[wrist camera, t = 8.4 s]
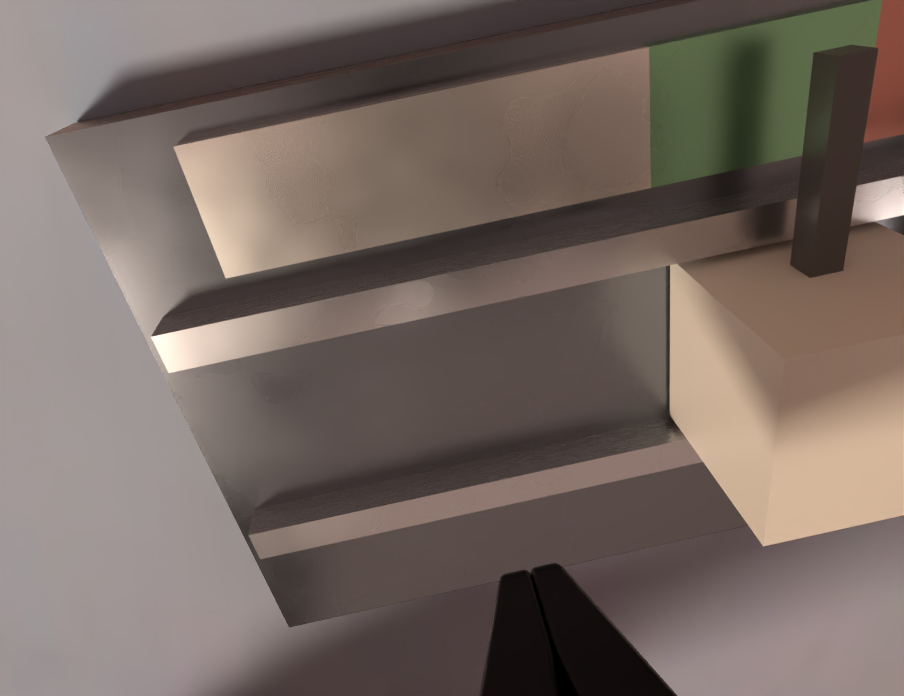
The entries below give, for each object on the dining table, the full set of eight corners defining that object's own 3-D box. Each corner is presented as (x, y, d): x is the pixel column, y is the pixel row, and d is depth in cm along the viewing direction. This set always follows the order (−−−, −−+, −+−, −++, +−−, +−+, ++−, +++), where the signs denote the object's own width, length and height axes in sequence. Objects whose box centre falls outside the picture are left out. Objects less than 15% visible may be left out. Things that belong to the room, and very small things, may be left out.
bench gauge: (293, 590, 18) (270, 791, 13) (73, 123, 11) (-116, 213, 7) (936, 448, 18) (1123, 598, 14) (1092, -89, 12) (1551, -136, 7)
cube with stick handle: (669, 414, 15) (763, 546, 11) (670, 66, 11) (814, 103, 7) (835, 378, 15) (979, 498, 11) (896, 18, 11) (1143, 34, 7)
